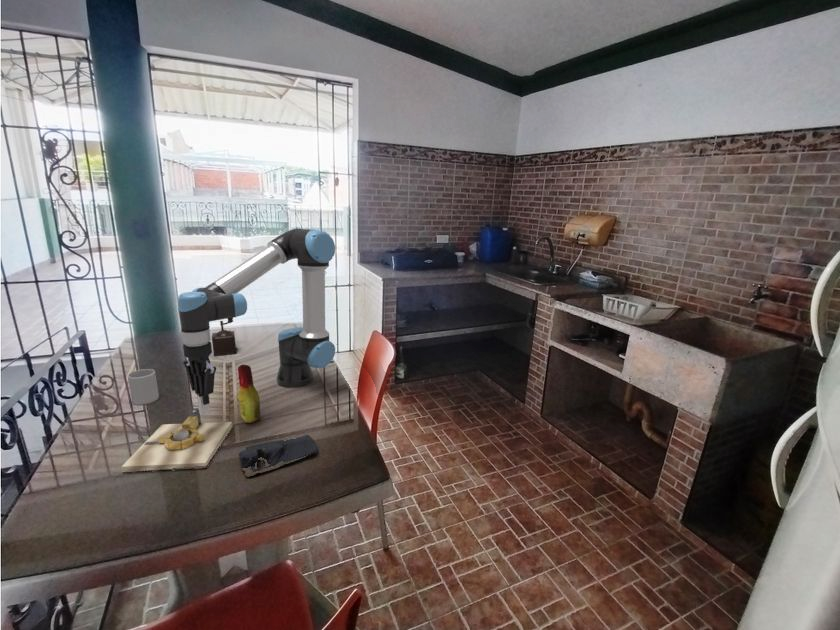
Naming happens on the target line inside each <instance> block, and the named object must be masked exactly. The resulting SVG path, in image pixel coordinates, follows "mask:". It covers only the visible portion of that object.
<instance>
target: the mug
mask: <svg viewBox="0 0 840 630" xmlns="http://www.w3.org/2000/svg"><path fill="white" fill-rule="evenodd" d="M127 380H128V386H129V390H130V396H131V397H130V399H131V402H132V404H133V405H136V406H143V405H149V404H151V403H155V402H156V401H157V400H159V398H160V393H159V392H160V391H159V386H158V381H157V376H156V371H155V369H152V368H145V369H144V368H143V369H138V370H134V371H132V372H129V373H128V374H127Z"/></svg>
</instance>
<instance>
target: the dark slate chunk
mask: <svg viewBox="0 0 840 630" xmlns="http://www.w3.org/2000/svg"><path fill="white" fill-rule="evenodd" d="M295 438H296V439H293V438H289V440H288V439H280V440H275V441H267V442H263V443H257V444H253V445H249V446H246V447H245V449H246V450H245V449H243V450H242V451H240V452H239V453H238V456H239V462H240V463H241V464H240V469H241V468H248V467H250V466H251V468H250V469H251V470H252V471H253V472H256V471H260V470H262V469H263V468H260V469H259V468H258V470H257V469H255V468H254V467H255V463H256V462H257V461H258V458H260V457H262V458H264V459H266V460H267V463H268V464H270V465H269V466H268V467H271V466H275V465H276V464H277V463H279V462H281V461H283V462H288V461H291V460H294V459H298V458H301V457H304V456H307V455H310V456H312V455H311V454H313V453H315V452H316V453H318V446H317V443H316V442H315V440H314V439H313V438H312V436H311V437H310V435H309V434H305V435H303V436H302V437H301V436H297V437H295ZM284 440H286V441H284ZM316 453H315V454H316ZM313 455H314V454H313ZM258 462H259V461H258ZM268 467H265V468H268Z"/></svg>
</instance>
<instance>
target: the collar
mask: <svg viewBox="0 0 840 630" xmlns="http://www.w3.org/2000/svg"><path fill="white" fill-rule="evenodd" d="M188 413H189V414H188V415H189V416H188V417H187V418H186V419H185V420H184V421H183V423H181V424H182V429H178V430H175V431H173V432H170V433H169V434H168V435H161V436H160V437H159V438H158V440H159V443H164V446H165V447H166V448H167V449H170V450H177V449H184V448H186V447H189V446H191V445H193V444H195V443H196V442H198V441H203V440H204V434H199V432H198V431H197V430H196V428H197V427H198V426H199V425H200V424H201V423H202V419H201V418H202V417H201V414H199V407H196V408H191V409H189V410H188ZM180 430H188V432H189V436H190V437H189V438H187V439H184V440H182V441H173V440H174V437H173V434H174V433H175V432H177V431H180Z"/></svg>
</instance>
